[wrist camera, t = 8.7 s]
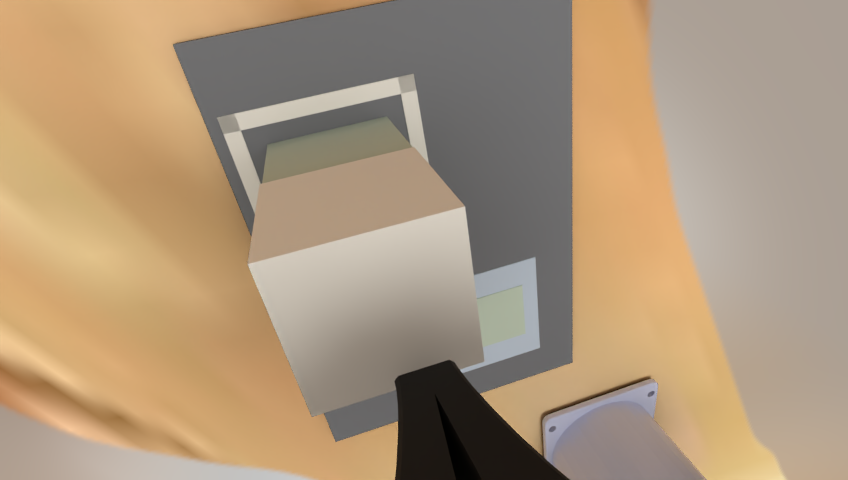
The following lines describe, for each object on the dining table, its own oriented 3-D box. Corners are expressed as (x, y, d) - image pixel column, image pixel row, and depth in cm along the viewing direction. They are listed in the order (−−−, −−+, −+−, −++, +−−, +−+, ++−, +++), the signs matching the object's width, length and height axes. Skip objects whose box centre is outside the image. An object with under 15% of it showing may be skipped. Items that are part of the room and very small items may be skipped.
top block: (436, 272, 16) (484, 361, 12) (305, 309, 15) (311, 417, 11) (414, 146, 13) (465, 206, 10) (259, 184, 13) (247, 264, 9)
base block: (408, 220, 20) (437, 274, 16) (303, 248, 19) (307, 312, 15) (386, 116, 17) (414, 149, 13) (267, 144, 17) (261, 187, 13)
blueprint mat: (568, 357, 27) (573, 363, 26) (335, 435, 25) (335, 443, 24) (566, -35, 17) (573, -35, 16) (175, 43, 15) (172, 44, 14)
